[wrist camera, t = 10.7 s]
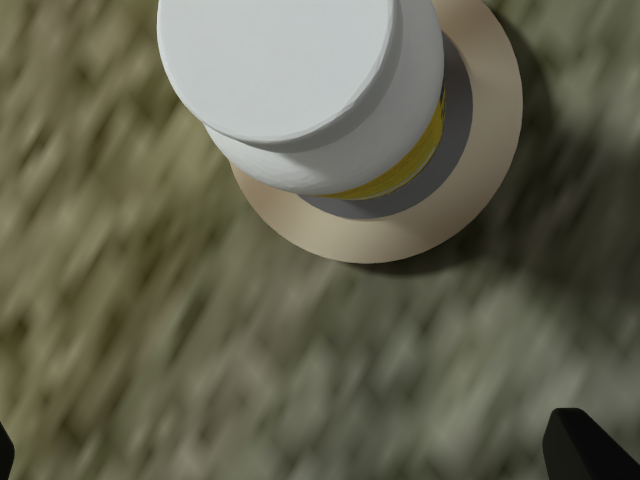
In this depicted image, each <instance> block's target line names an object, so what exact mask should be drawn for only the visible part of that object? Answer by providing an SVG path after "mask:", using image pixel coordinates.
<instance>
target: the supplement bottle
mask: <svg viewBox="0 0 640 480" xmlns="http://www.w3.org/2000/svg"><path fill="white" fill-rule="evenodd" d="M157 37H158V45H159V51H160V55H161V59H162V62H163V66H164V69H165V71H166V74H167V76H168V78H169V81H170V83H171V85H172V87H173V89H174V90H175V92H176V94H177V95H178V97H179V98H180V99H181V101H182V102H183V103H184V105H185V106H186V107H187V108H188V109H189V110H190V112H191V113H193V114H194V115H195V116H196V117H197V118H198V119H199V120H200V121H201V122H203V124H204V126H205V128H206V130H207V132H208V133H209V135H210V137H211V138H212V140H213V141H214V143H215V144H216V145H217V147H218V148H219V149H220V150H221V152H222V153H223V154H224V155H225V156H226V157H227V158H228V159H229V160H230V161H231V162H232V163H233V164H234V165H235V166H236V167H238V168H239V169H240V170H241V171H243V172H244V173H245V174H247V175H249V176H250V177H252V178H254V179H256V180H257V181H259V182H261V183H263V184H266V185H268V186H270V187H273V188H276V189H279V190H283V191H286V192H290V193H294V194H301V195H309V196H317V197H325V198H335V199H342V200H357V201H360V200H370V199H376V198H380V197H383V196H386V195H389V194H391V193H393V192H396V191H398V190H399V189H401V188H403V187H404V186H406V185H407V184H409V183H410V182H411V181H412V180H414V179H415V178H416V177H417V176H418V175H419V174H420V173H421V172H422V171H423V170H424V169H425V167H426V166H427V165H428V163H429V162H430V161H431V159H432V157H433V156H434V154H435V152H436V150H437V148H438V146H439V144H440V141H441V138H442V134H443V130H444V124H445V115H446V91H445V51H444V45H443V38H442V33H441V27H440V24H439V21H438V17H437V14H436V11H435V8H434V6H433V3H432V1H431V0H159V6H158V15H157Z"/></svg>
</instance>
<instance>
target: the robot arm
mask: <svg viewBox="0 0 640 480" xmlns="http://www.w3.org/2000/svg"><path fill="white" fill-rule="evenodd" d="M542 446H543V454H544V459H545V463H546V468H547V472H548V477H549V480H640V465H639V464H638V463H637V462H636V461H635V460H634V459H633V458H632V457H631V456H630V455H629V454H628V453H627V452H626V451H625V450H624V449H623V448H622V447H621V446H620V445H619V444H618V443H617V442H616V441H615V440H614V439H612V438H611V437H610V436H609V435H608V434H607V433H606V432H605V431H604V430H603V429H602V428H601V427H600V426H599V425H598V424H597V423H596V422H595V421H594V420H593V419H592V418H591V417H590V416H589V415H588V414H587V413H586V412H584V411H583V410H581V409H579V408H556V409H554V410H553V411H552V413H551V416H550V419H549V422H548V425H547V428H546V431H545V434H544V437H543V443H542ZM14 455H15V450H14V445H13V443H12V441H11V439H10V438H9V436H8V434H7V432H6V431H5V429H4V427H3V425H2V424H1V422H0V480H8V478H9V475H10V471H11V468H12V464H13V461H14Z"/></svg>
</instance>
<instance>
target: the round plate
mask: <svg viewBox="0 0 640 480" xmlns="http://www.w3.org/2000/svg"><path fill="white" fill-rule="evenodd" d="M431 1H432V3H433V6H434V8H435V11H436V14H437V17H438V21H439V24H440V27H441V33H442V38H443V45H444V51H445V91H446V115H445V124H444V130H443V134H442V138H441V141H440V144H439V146H438V148H437V150H436V152H435V154H434V156H433V157H432V159H431V161H430V162H429V163H428V165H427V166H426V167H425V169H424V170H423V171H422V172H421V173H420V174H419V175H418V176H417V177H416V178H415V179H414V180H412V181H411V182H410V183H409V184H407V185H406V186H404V187H403V188H401V189H399V190H398V191H396V192H393V193H391V194H389V195H386V196H383V197H380V198H376V199H370V200H360V201H357V200H342V199H335V198H325V197H317V196H309V195H301V194H294V193H290V192H286V191H283V190H279V189H276V188H273V187H270V186H268V185H266V184H263V183H261V182H259V181H257V180H256V179H254V178H252V177H250V176H249V175H247V174H245V173H244V172H243V171H241V170H240V169H239V168H238V167H236V166H235V165H234V164H233V163H232V162H231V161H230V160H229V162H230V165H231V168H232V170H233V173H234V176H235V178H236V180H237V182H238V184H239V186H240V188H241V190H242V192H243V194H244V195H245V197H246V198H247V200H248V201H249V203H250V204H251V206H252V207H253V208H254V210H255V211H256V212H257V213H258V214H259V215H260V217H261V218H262V219H263V220H264V221H265V222H266V223H267V224H268V225H269V226H270V227H272V228H273V229H274V230H275V231H276V232H277V233H278V234H280V235H281V236H283V237H284V238H286V239H287V240H289V241H290V242H291V243H293V244H295V245H297V246H299V247H301V248H303V249H305V250H307V251H309V252H311V253H314V254H317V255H319V256H322V257H325V258H328V259H333V260H338V261H343V262H350V263H364V264H366V263H384V262H390V261H395V260H400V259H405V258H408V257H411V256H414V255H417V254H420V253H423V252H425V251H427V250H429V249H431V248H433V247H435V246H437V245H439V244H441V243H443V242H444V241H446V240H447V239H449V238H451V237H452V236H454V235H455V234H457V233H458V232H459V231H461V230H462V229H463V228H464V227H465V226H466V225H468V224H469V223H470V222H471V221H472V220H473V219H474V218H475V217H476V216H477V215H478V214H479V213H480V212H481V211H482V210H483V208H484V207H485V206H486V205H487V204H488V203H489V201H490V200H491V198H492V197H493V195H494V194H495V193H496V191H497V190H498V188H499V187H500V185H501V183H502V181H503V179H504V177H505V175H506V173H507V171H508V170H509V168H510V165H511V162H512V159H513V157H514V154H515V151H516V148H517V144H518V140H519V135H520V130H521V124H522V111H523V97H522V83H521V78H520V73H519V68H518V63H517V60H516V57H515V55H514V52H513V49H512V46H511V43H510V41H509V39H508V37H507V36H506V34H505V32H504V30H503V28H502V26H501V24H500V23H499V21H498V20H497V19H496V17H495V16H494V15H493V13H492V12H491V10H490V9H489V8H488V7H487V6H486V5H485V4H484V3H483V2H482V0H431Z"/></svg>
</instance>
